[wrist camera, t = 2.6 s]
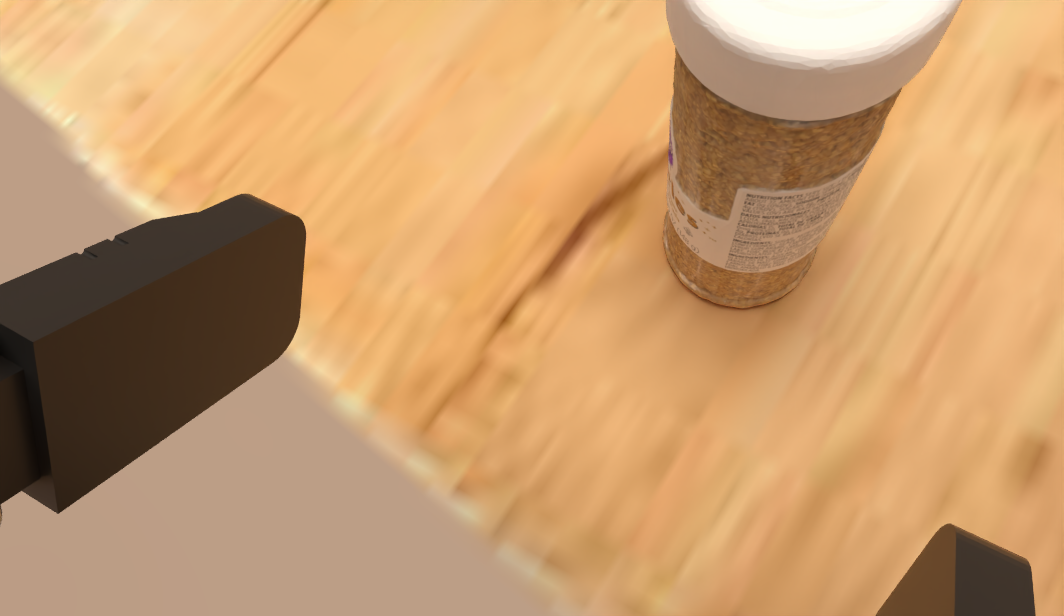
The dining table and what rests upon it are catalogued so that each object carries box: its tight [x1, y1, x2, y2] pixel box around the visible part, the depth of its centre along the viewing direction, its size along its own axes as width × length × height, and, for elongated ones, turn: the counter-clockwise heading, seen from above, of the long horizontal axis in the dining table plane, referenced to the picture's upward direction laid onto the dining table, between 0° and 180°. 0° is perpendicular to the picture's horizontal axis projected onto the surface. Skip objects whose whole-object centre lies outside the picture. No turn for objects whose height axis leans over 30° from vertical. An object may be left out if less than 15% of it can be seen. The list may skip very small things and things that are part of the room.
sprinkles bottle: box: [663, 0, 962, 308], centre depth 18 cm, size 5×5×14 cm
